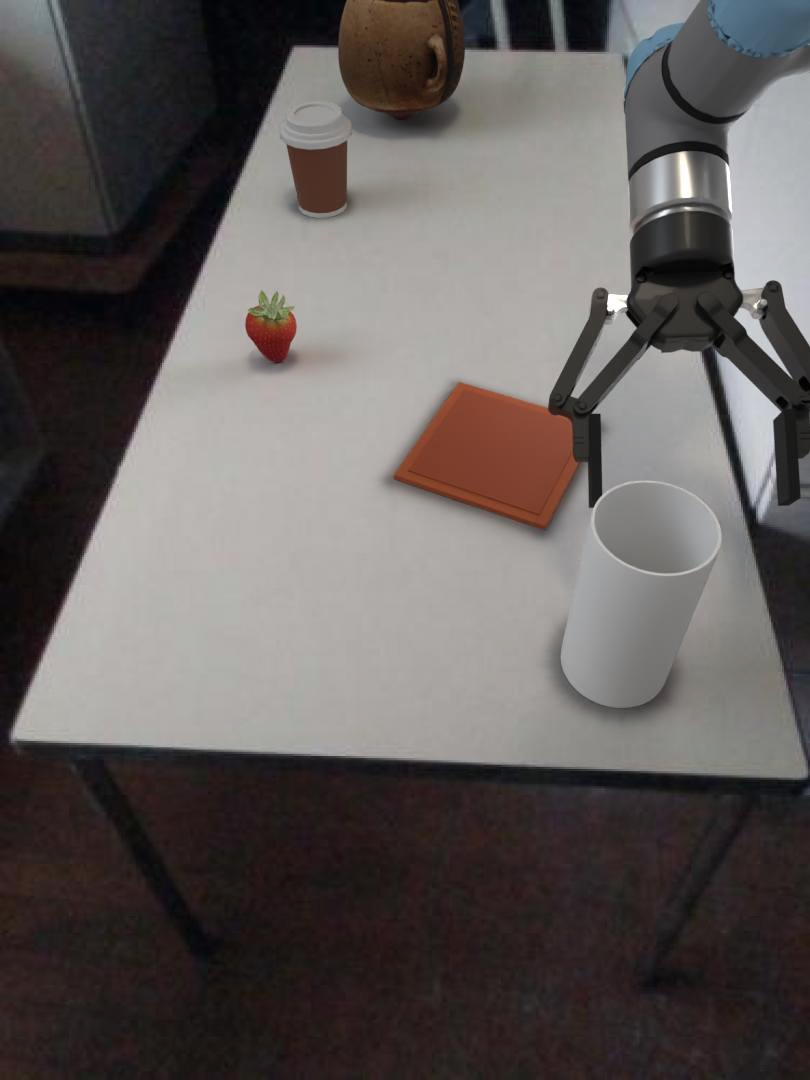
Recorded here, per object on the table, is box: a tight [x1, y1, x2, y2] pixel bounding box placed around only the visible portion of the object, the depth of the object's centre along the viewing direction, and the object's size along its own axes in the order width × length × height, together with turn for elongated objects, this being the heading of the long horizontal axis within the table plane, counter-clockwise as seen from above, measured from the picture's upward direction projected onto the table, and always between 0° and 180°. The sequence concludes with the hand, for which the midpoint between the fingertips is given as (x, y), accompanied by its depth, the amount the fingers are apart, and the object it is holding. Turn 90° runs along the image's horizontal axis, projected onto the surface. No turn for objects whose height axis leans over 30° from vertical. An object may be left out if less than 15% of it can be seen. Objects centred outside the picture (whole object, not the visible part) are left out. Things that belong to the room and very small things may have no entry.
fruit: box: [244, 290, 297, 363], centre depth 89 cm, size 5×5×8 cm
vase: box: [337, 0, 466, 122], centre depth 119 cm, size 21×18×30 cm
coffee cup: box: [278, 100, 353, 219], centre depth 109 cm, size 9×9×12 cm
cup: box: [560, 479, 723, 709], centre depth 60 cm, size 8×8×16 cm
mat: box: [393, 381, 581, 531], centre depth 82 cm, size 15×15×1 cm
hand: (691, 503), depth 62 cm, fingers open, 13 cm apart
